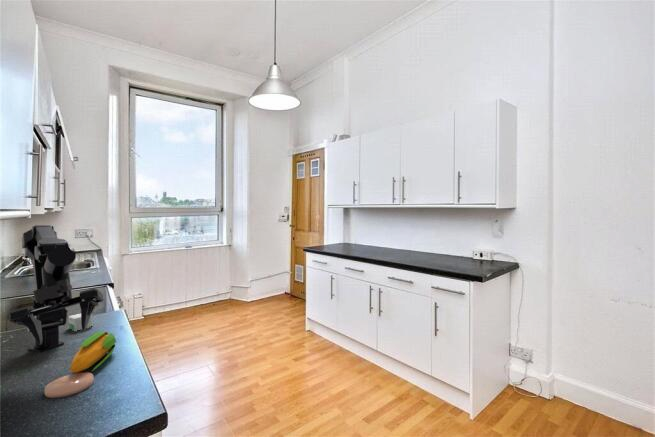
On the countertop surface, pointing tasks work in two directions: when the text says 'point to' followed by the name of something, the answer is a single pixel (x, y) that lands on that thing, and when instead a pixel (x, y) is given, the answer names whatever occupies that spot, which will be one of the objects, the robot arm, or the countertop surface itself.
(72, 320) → the small box
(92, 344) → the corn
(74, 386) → the pink flat disc
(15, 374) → the countertop surface
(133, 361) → the countertop surface
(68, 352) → the countertop surface
